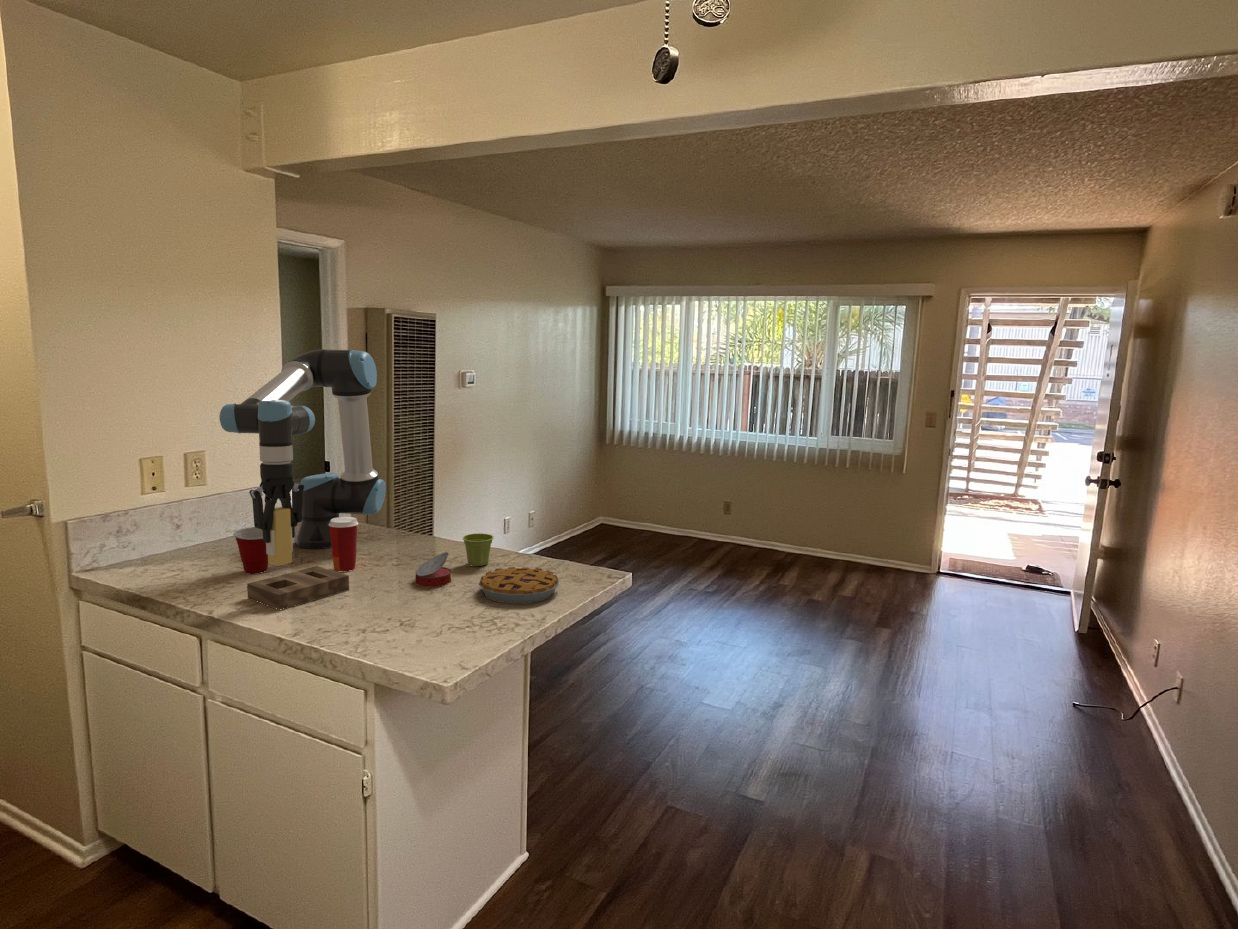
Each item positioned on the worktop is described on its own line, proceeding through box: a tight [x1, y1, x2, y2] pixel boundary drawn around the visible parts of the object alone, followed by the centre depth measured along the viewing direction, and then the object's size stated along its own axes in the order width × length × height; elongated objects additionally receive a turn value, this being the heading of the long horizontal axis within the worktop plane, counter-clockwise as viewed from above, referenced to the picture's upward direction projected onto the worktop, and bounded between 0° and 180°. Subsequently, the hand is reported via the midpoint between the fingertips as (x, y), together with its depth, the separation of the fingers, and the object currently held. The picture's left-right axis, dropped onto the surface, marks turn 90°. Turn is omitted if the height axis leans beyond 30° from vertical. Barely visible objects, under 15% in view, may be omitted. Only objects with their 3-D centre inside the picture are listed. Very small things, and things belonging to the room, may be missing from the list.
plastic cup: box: [232, 526, 269, 575], centre depth 204 cm, size 11×11×12 cm
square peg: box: [268, 506, 293, 566], centre depth 180 cm, size 4×4×14 cm
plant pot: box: [462, 532, 495, 567], centre depth 218 cm, size 9×9×9 cm
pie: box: [478, 566, 560, 604], centre depth 194 cm, size 22×22×5 cm
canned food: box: [415, 551, 452, 588], centre depth 200 cm, size 11×10×10 cm
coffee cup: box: [328, 516, 359, 573], centre depth 209 cm, size 8×8×15 cm
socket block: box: [246, 565, 350, 611], centre depth 187 cm, size 20×14×4 cm
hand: (279, 552), depth 181 cm, fingers closed on square peg, 4 cm apart
